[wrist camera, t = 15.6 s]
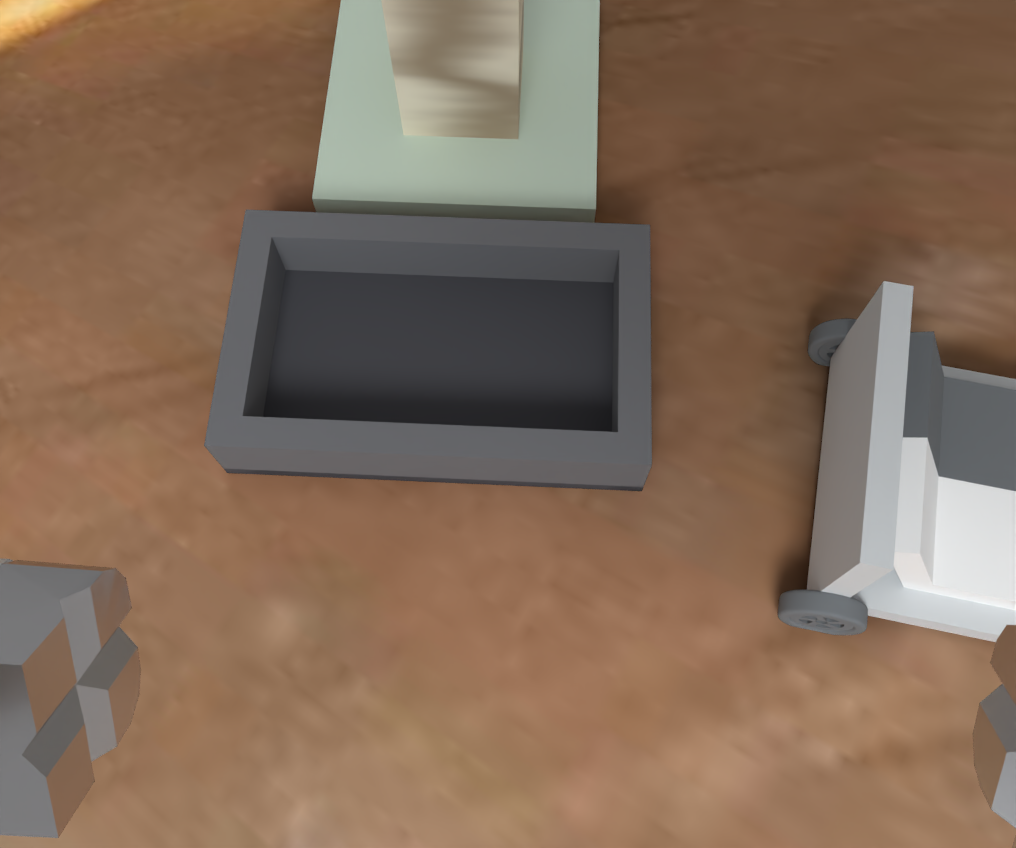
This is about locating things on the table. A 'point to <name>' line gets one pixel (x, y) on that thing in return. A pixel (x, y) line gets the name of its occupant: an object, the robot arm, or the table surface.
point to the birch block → (457, 66)
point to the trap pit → (437, 351)
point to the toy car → (909, 484)
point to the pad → (462, 160)
